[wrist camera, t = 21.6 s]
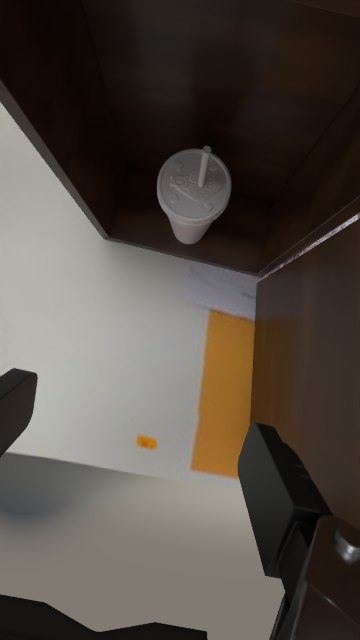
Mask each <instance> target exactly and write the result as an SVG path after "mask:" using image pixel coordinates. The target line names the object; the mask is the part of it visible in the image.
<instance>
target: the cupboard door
mask: <svg viewBox="0 0 360 640" xmlns="http://www.w3.org/2000/svg"><path fill="white" fill-rule="evenodd" d="M253 422H257V423H261V424H266V425H270V426H274V427H275V429H276V431H277V432H278V434H279V436H280V438H281V440H282V442H283V443H286V444H287V445H288V446H289V447H290V448H291V449H293V450H294V451H295V452H296V453H297V454H298V456H299V458H300V459H301V461H302V463H303V464H304V466H305V469H306V470H307V471H308V473H309V475H310V476H311V479H312V480H313V481H314V483H315V485H316V486H317V488H318V490H319V492H320V493H321V495H322V497H323V498H324V500H325V502H326V503H327V505H328V507H329V508H330V510H331V512H332V513H333V515H334V516H335V517H338V518H340V519H342V520H344V521H346V522H348V523H349V524H351V525H352V526H354V527H355V528H356V529H358V530H359V531H360V219H358V220H356V221H355V222H353V223H352V224H350V225H349V226H347V227H345V228H344V229H342V230H341V231H339V232H337V233H336V234H334V235H333V236H331V237H330V238H328V239H326V240H325V241H323V242H322V243H320V244H319V245H317V246H315V247H314V248H312V249H311V250H309V251H307V252H306V253H304V254H303V255H301V256H300V257H298V258H296V259H295V260H293V261H292V262H290V263H288V264H287V265H285V266H284V267H282V268H281V269H279V270H277V271H276V272H274V273H273V274H271V275H270V276H268V277H266V278H265V279H263V280H262V281H260V282H258V283H257V300H256V320H255V340H254V360H253V380H252V400H251V420H250V425H251V423H253Z"/></svg>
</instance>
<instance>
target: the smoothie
mask: <svg viewBox="0 0 360 640" xmlns="http://www.w3.org/2000/svg"><path fill="white" fill-rule="evenodd" d="M231 189H232V182H231V176H230V173H229V171H228V169H227V167H226V165H225V164H224V163H223V161H222V160H221V159H220V158H218V157H217V156H216V155H214V154H213V153H211V148H210V147H209V146H205V147H204V148H203V150H202V149H186V150H183V151H180V152H177V153H176V154H174V155H172V156H171V157H170V158H169V159H168V160H167V161H166V162H165V163H164V164H163V166H162V168H161V169H160V172H159V175H158V179H157V196H158V200H159V203H160V205H161V207H162V209H163V210H164V212H165V213H166V214H167V215H168V218H169V220H170V223H171V226H172V229H173V232H174V234H175V236H176V238H177V239H178V240H179V241H180V242H182V243H184V244H194V243H196V242H198V241H199V240H200V239H201V238H202V237H203V235H204V234H205V232H206V231H207V229H208V228H209V226H210V225H211V223H212V222H213V220H215V219H217V218H218V217H219V216H220V215H221V214H222V213H223V212H224V210H225V208H226V206H227V205H228V202H229V198H230V195H231Z"/></svg>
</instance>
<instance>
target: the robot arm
mask: <svg viewBox="0 0 360 640" xmlns="http://www.w3.org/2000/svg"><path fill="white" fill-rule="evenodd" d="M37 379H38V377H37V374H36V373H34V372H29V371H25V370H20V369H16V368H13V369H11V370H10V371H8V372H7V373H5V374H4V375H2V376H1V377H0V457H1V456H2V455H3V454H4V452H5V451H6V450H7V449H8V448H9V447H10V446H11V445H12V444H13V442H14V441H15V440H16V439H17V438H18V437H19V436H20V435H21V433H22V432H23V431H24V430H25V429H26V427H27V426H28V424H29V422H30V420H31V417H32V414H33V408H34V401H35V394H36V387H37ZM238 476H239V479H240V483H241V487H242V491H243V494H244V498H245V502H246V506H247V509H248V513H249V517H250V521H251V524H252V528H253V532H254V536H255V539H256V543H257V547H258V551H259V555H260V558H261V562H262V566H263V570H264V573H265V576H269V577H274V578H280V579H281V580H282V583H283V586H284V589H285V595H284V597H283V599H282V602H281V605H280V608H279V611H278V614H277V617H276V621H275V624H274V627H273V630H272V633H271V636H270V639H269V640H360V531H359V530H358V529H356V528H355V527H354V526H352V525H351V524H349V523H348V522H346V521H344V520H342V519H340V518H338V517H335V516H334V515H333V513H332V512H331V510H330V508H329V507H328V505H327V503H326V502H325V500H324V498H323V497H322V495H321V493H320V492H319V490H318V488H317V486H316V485H315V483H314V481H313V480H312V479H311V476H310V475H309V473H308V471H307V470H306V469H305V466H304V464H303V463H302V461H301V459H300V458H299V456H298V454H297V453H296V452H295V451H294V450H293V449H291V448H290V447H289V446H288V445H287V444H286V443H283V442H282V440H281V438H280V436H279V434H278V432H277V431H276V429H275V427H274V426H270V425H266V424H261V423H257V422H253V423H251V425H250V427H249V430H248V433H247V435H246V438H245V441H244V444H243V447H242V450H241V453H240V455H239V459H238ZM0 640H207V632H206V631H201V630H195V629H190V628H184V627H179V626H173V625H168V624H162V623H156V622H154V623H149V624H143V625H138V626H131V627H126V628H120V629H115V630H109V631H103V632H96V631H93V630H91V629H89V628H87V627H85V626H84V625H82V624H80V623H79V622H77V621H75V620H73V619H72V618H70V617H68V616H67V615H65V614H63V613H62V612H60V611H58V610H57V609H55V608H53V607H51V606H50V605H48V604H46V603H44V602H39V601H33V600H28V599H22V598H17V597H11V596H6V595H0Z"/></svg>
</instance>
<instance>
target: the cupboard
mask: <svg viewBox="0 0 360 640" xmlns="http://www.w3.org/2000/svg"><path fill="white" fill-rule="evenodd" d="M0 102H1V103H2V104H3V106H4V107H5V108H6V110H7V111H8V112H9V114H10V115H11V116H12V118H13V119H14V120H15V122H16V123H17V124H18V126H19V127H20V128H21V130H22V131H23V132H24V134H25V135H26V136H27V138H28V139H29V140H30V142H31V143H32V144H33V146H34V147H35V148H36V150H37V151H38V152H39V154H40V155H41V156H42V158H43V159H44V160H45V162H46V163H47V164H48V166H49V167H50V168H51V170H52V171H53V172H54V174H55V175H56V176H57V178H58V179H59V180H60V182H61V183H62V184H63V186H64V187H65V188H66V190H67V191H68V192H69V194H70V195H71V196H72V198H73V199H74V200H75V202H76V203H77V204H78V206H79V207H80V208H81V210H82V211H83V212H84V214H85V215H86V216H87V217H88V219H89V220H90V221H91V223H92V224H93V225H94V227H95V228H96V229H97V231H98V232H99V233H100V235H101V236H102V237H103V238H104V239H108V240H112V241H116V242H120V243H124V244H128V245H132V246H136V247H141V248H145V249H149V250H153V251H157V252H161V253H165V254H169V255H173V256H177V257H181V258H185V259H189V260H193V261H198V262H202V263H206V264H210V265H214V266H218V267H222V268H226V269H230V270H234V271H238V272H242V273H246V274H250V275H254V276H259V277H263V276H265V275H266V274H268V273H269V272H271V271H272V270H274V269H275V268H277V267H278V266H280V265H281V264H283V263H284V262H286V261H287V260H289V259H290V258H292V257H293V256H295V255H296V254H298V253H299V252H301V251H302V250H304V249H305V248H307V247H308V246H310V245H311V244H313V243H314V242H316V241H317V240H319V239H320V238H322V237H323V236H325V235H326V234H328V233H329V232H331V231H332V230H334V229H335V228H337V227H338V226H340V225H341V224H343V223H344V222H346V221H347V220H349V219H350V218H352V217H353V216H355V215H356V214H358V213H359V212H360V0H0ZM205 146H209V147H210V148H211V153H213V154H214V155H216V156H217V157H218V158H220V159H221V160H222V161H223V163H224V164H225V165H226V167H227V169H228V171H229V173H230V176H231V182H232V189H231V195H230V198H229V202H228V205H227V206H226V208H225V210H224V212H223V213H222V214H221V215H220V216H219V217H218V218H217V219H215V220H213V222H212V223H211V225H210V226H209V228H208V229H207V231H206V232H205V234H204V235H203V237H202V238H201V239H200V240H199V241H198V242H196V243H194V244H184V243H182V242H180V241H179V240H178V239H177V238H176V236H175V234H174V232H173V229H172V226H171V223H170V220H169V218H168V215H167V214H166V213H165V212H164V210H163V209H162V207H161V205H160V203H159V200H158V196H157V179H158V175H159V172H160V169H161V168H162V166H163V164H164V163H165V162H166V161H167V160H168V159H169V158H170V157H171V156H172V155H174V154H176V153H177V152H180V151H183V150H186V149H202V150H203V148H204V147H205Z"/></svg>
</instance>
